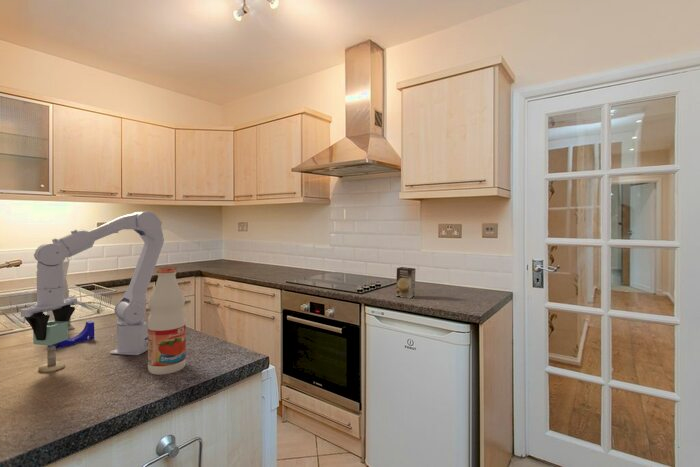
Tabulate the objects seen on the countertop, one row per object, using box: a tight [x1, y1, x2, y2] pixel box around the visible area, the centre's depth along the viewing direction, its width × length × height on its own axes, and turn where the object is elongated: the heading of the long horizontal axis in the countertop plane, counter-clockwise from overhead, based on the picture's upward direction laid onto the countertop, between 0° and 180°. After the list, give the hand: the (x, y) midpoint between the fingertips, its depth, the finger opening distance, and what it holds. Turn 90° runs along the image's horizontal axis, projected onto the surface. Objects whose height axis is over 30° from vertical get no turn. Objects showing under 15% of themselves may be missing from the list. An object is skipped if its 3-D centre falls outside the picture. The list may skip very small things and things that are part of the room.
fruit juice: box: [147, 266, 187, 376], centre depth 101 cm, size 9×9×28 cm
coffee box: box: [395, 266, 417, 299], centre depth 202 cm, size 9×6×16 cm
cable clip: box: [47, 320, 95, 350], centre depth 121 cm, size 12×4×6 cm, turn 143°
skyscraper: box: [46, 257, 75, 331], centre depth 135 cm, size 8×8×28 cm
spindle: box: [37, 346, 66, 373], centre depth 100 cm, size 6×6×6 cm
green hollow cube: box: [32, 321, 69, 346], centre depth 100 cm, size 5×5×5 cm
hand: (51, 336), depth 100 cm, fingers closed on green hollow cube, 5 cm apart
